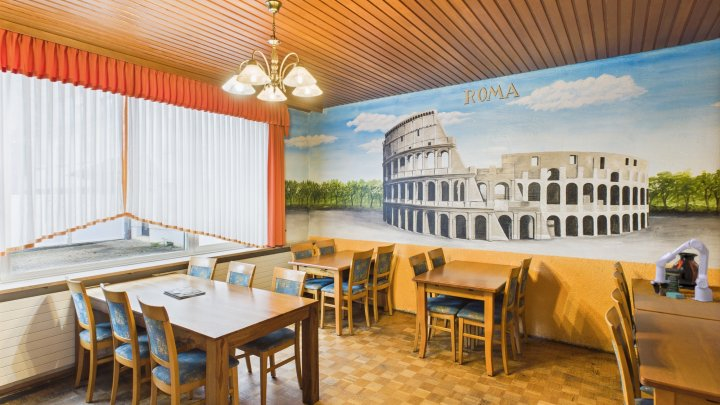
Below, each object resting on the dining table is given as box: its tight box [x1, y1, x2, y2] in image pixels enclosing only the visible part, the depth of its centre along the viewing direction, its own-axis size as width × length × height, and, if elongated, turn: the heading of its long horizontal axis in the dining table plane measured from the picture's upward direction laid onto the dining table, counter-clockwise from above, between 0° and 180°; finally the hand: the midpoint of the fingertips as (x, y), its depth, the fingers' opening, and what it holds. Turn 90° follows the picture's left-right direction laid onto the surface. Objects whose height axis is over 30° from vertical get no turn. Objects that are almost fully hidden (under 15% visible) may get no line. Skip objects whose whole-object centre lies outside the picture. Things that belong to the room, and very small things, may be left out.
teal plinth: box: [666, 292, 685, 300], centre depth 275 cm, size 7×7×3 cm
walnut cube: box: [653, 286, 667, 297], centre depth 283 cm, size 5×5×5 cm
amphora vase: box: [670, 251, 699, 291], centre depth 305 cm, size 22×22×28 cm
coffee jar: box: [665, 267, 680, 293], centre depth 291 cm, size 10×8×19 cm
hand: (659, 292), depth 283 cm, fingers closed on walnut cube, 5 cm apart
